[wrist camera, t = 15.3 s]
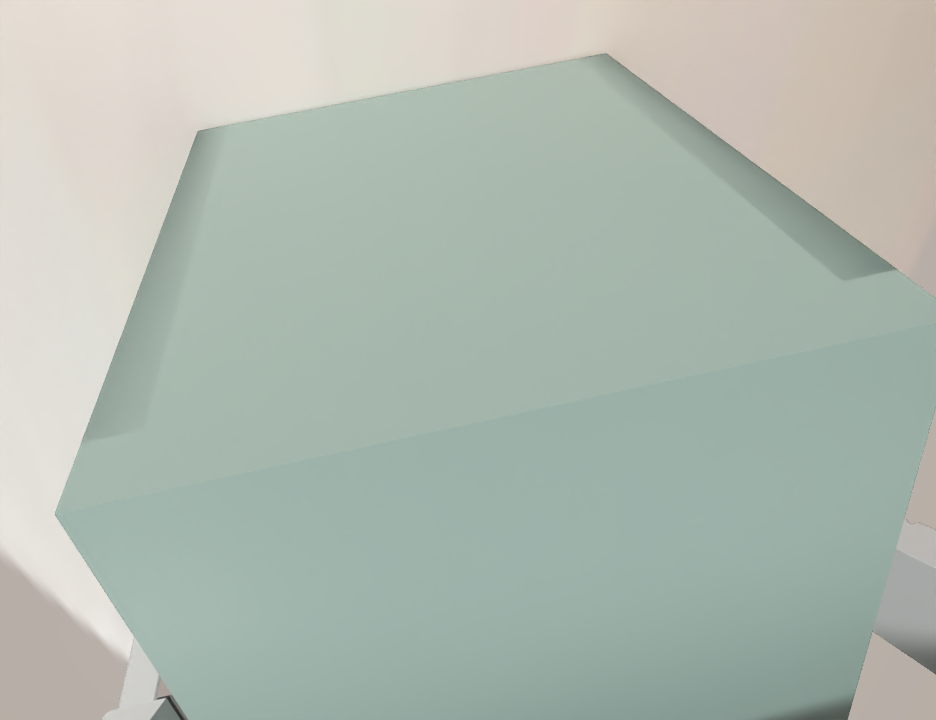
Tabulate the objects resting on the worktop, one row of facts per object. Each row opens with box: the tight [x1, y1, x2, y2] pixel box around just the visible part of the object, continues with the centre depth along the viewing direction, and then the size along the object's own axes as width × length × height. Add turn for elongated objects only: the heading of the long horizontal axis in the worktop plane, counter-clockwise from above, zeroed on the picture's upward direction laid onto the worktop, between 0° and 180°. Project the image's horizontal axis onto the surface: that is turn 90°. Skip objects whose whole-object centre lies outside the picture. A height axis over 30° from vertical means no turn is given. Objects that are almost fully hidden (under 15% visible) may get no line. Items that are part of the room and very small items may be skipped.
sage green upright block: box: [55, 54, 936, 720], centre depth 13 cm, size 11×7×9 cm, turn 8°
